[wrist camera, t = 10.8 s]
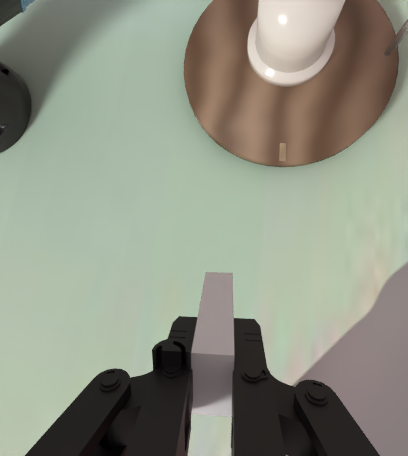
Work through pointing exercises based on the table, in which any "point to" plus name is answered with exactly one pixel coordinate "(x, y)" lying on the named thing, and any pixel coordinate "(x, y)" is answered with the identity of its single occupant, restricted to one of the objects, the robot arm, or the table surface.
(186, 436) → the robot arm
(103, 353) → the table surface
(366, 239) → the table surface
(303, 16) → the canister
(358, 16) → the turntable
